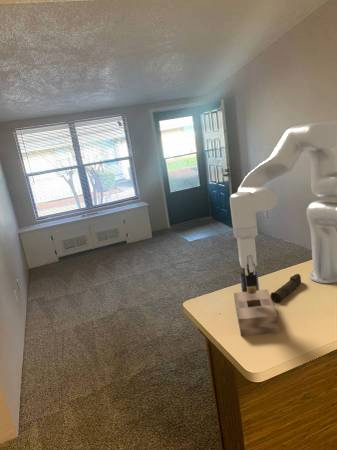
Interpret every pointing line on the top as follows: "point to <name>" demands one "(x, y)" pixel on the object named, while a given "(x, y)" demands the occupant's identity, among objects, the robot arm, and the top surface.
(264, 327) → the hole block
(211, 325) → the top surface
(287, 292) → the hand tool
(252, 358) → the top surface
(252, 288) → the peg
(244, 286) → the supplement bottle
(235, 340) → the top surface
